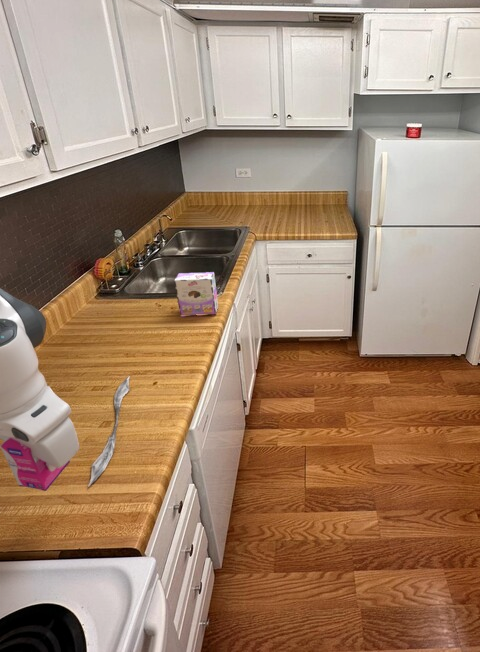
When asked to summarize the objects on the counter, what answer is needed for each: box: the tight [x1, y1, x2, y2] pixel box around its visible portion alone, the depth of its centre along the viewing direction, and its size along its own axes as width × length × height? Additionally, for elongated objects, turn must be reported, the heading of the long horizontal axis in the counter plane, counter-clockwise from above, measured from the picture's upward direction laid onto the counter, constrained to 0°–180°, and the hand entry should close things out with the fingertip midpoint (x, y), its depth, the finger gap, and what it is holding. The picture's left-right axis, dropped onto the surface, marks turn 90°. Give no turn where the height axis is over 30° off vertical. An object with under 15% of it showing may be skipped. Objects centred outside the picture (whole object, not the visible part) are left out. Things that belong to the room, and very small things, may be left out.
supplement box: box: [0, 437, 71, 492], centre depth 62 cm, size 6×6×12 cm
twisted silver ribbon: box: [87, 375, 131, 488], centre depth 86 cm, size 32×1×5 cm
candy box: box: [173, 271, 219, 318], centre depth 128 cm, size 14×6×16 cm, turn 94°
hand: (39, 459), depth 63 cm, fingers closed on supplement box, 6 cm apart
